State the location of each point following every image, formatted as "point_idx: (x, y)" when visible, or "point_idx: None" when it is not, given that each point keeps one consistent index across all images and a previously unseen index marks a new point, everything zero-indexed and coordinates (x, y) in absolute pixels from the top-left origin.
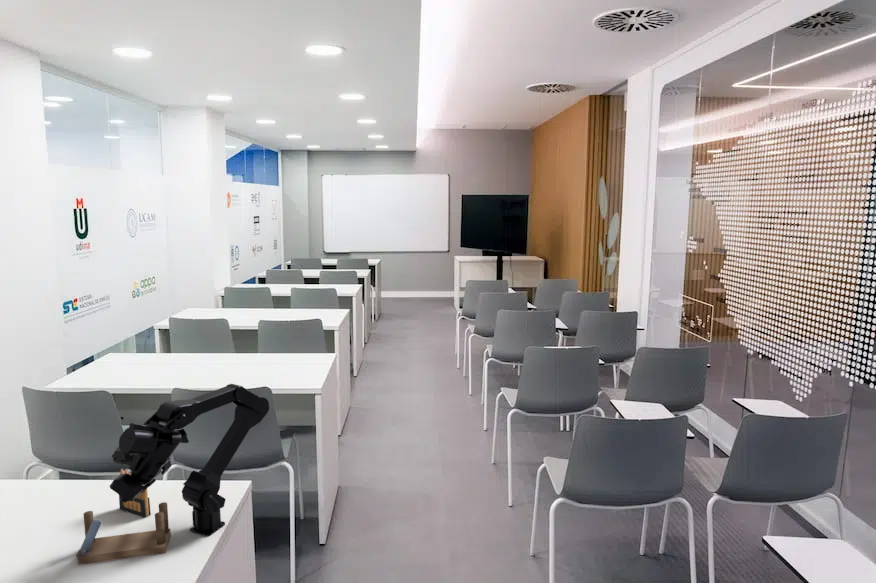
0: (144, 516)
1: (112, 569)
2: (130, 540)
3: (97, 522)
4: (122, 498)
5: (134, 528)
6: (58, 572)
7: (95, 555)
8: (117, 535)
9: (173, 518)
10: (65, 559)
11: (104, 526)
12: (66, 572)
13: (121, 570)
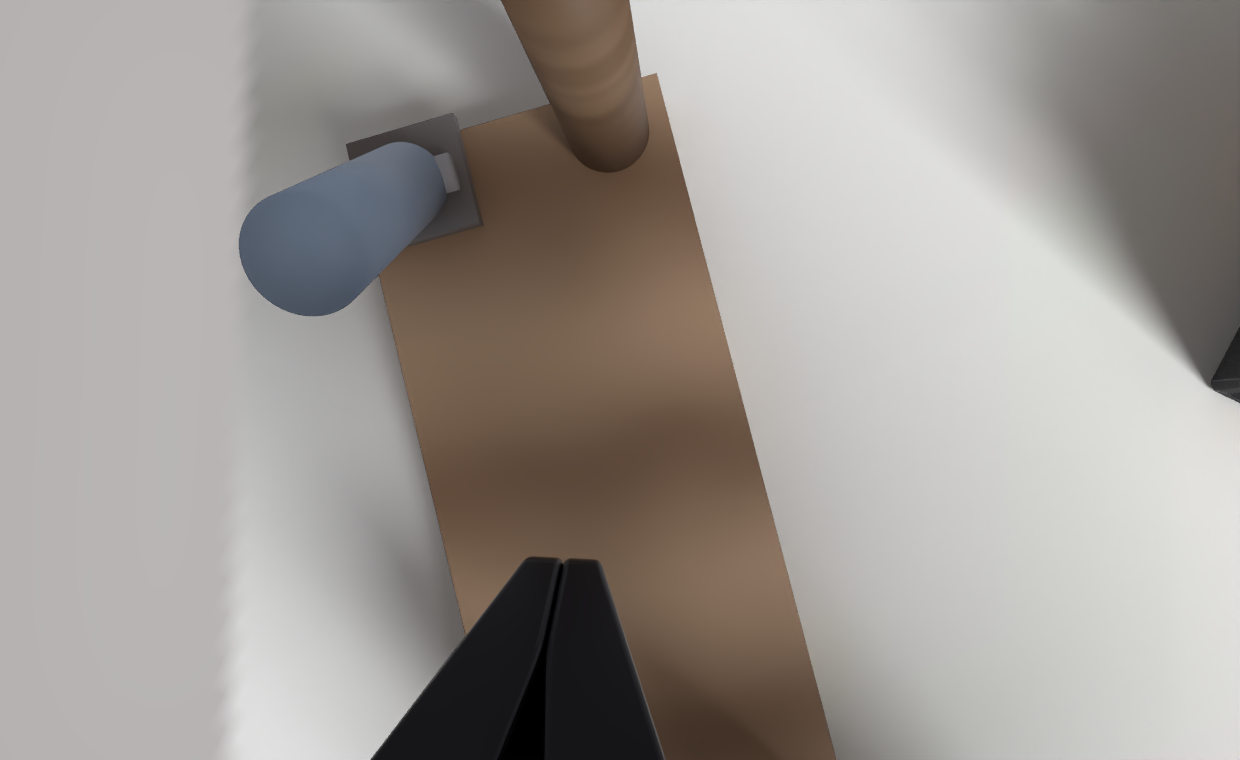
0: (1221, 380)
1: (314, 509)
2: (626, 524)
3: (308, 262)
4: (493, 599)
5: (987, 376)
6: (284, 86)
7: (392, 307)
8: (720, 343)
9: (1200, 701)
10: (464, 26)
11: (1027, 51)
12: (283, 151)
13: (298, 593)
